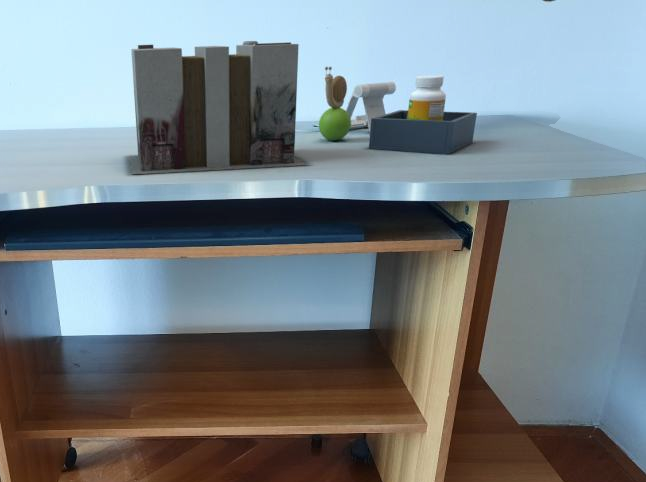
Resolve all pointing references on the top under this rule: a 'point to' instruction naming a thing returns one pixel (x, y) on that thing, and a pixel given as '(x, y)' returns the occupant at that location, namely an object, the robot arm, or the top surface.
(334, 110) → the snail figurine
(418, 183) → the top surface
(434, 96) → the supplement bottle
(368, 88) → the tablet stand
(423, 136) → the bin
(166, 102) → the building model
